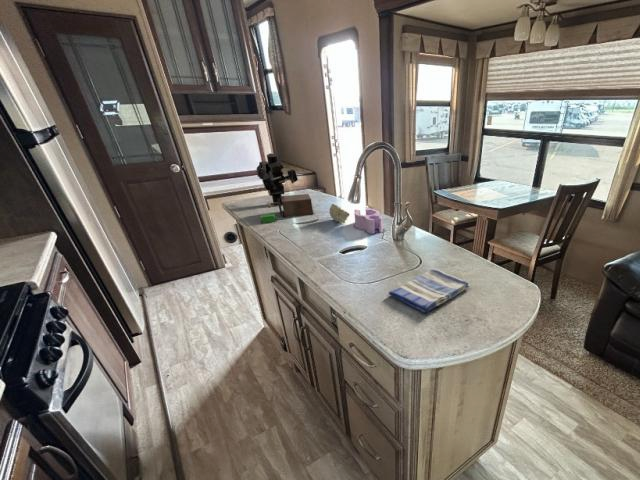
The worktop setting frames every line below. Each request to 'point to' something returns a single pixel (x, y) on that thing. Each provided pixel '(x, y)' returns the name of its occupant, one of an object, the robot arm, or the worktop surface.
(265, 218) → the green rectangular box
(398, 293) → the dish towel
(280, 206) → the drawer
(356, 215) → the clip
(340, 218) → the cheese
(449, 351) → the worktop surface
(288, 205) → the cabinet
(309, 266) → the worktop surface
